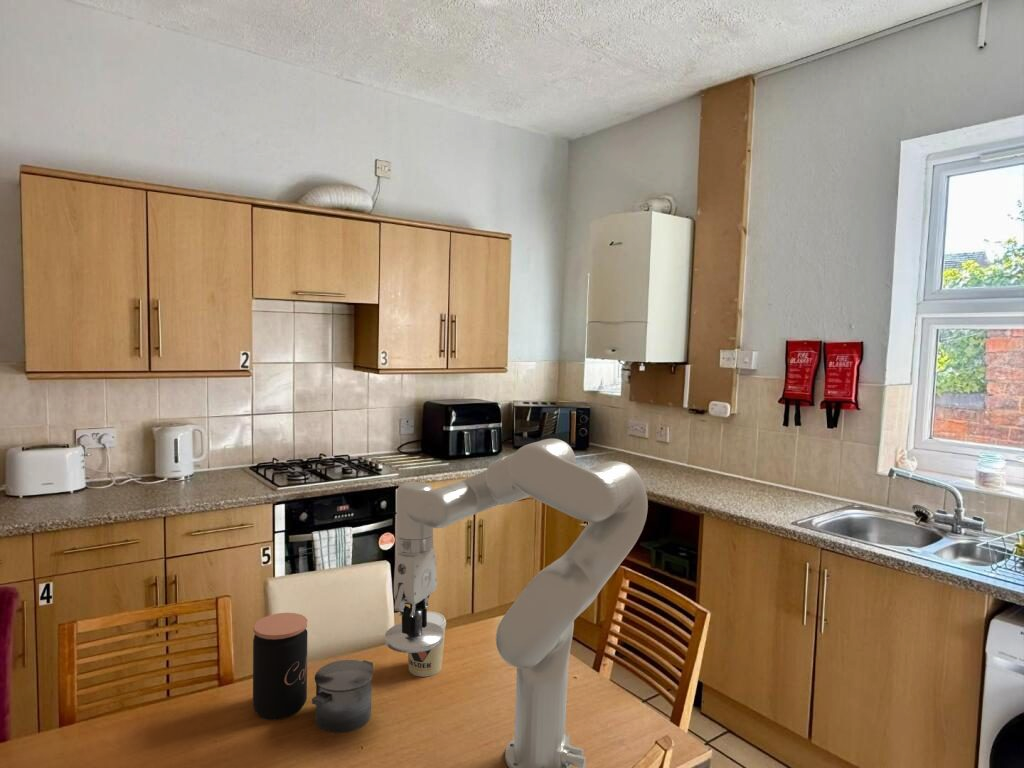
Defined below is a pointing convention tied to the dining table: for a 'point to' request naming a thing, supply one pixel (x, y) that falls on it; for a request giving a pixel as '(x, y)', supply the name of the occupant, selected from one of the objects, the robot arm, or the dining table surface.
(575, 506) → the robot arm
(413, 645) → the lid
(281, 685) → the coffee jar
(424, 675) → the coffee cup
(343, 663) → the pot
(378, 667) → the dining table surface
